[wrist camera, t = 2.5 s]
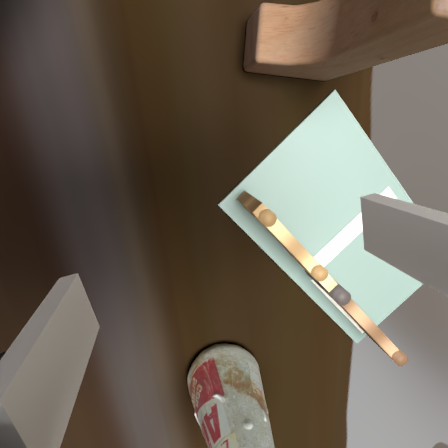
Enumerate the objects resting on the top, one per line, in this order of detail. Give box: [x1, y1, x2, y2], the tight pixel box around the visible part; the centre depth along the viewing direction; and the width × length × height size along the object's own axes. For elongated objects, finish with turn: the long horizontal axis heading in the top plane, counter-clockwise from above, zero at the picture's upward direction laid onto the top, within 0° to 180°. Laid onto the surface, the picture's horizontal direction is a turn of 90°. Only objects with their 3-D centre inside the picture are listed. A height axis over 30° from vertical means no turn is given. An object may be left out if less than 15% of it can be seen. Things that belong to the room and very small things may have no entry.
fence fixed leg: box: [305, 270, 408, 366], centre depth 36 cm, size 14×2×8 cm, turn 44°
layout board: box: [218, 90, 423, 343], centre depth 37 cm, size 17×28×1 cm, turn 44°
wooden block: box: [243, 0, 448, 81], centre depth 22 cm, size 9×4×18 cm, turn 86°
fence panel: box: [237, 191, 338, 292], centre depth 32 cm, size 12×1×7 cm, turn 44°
